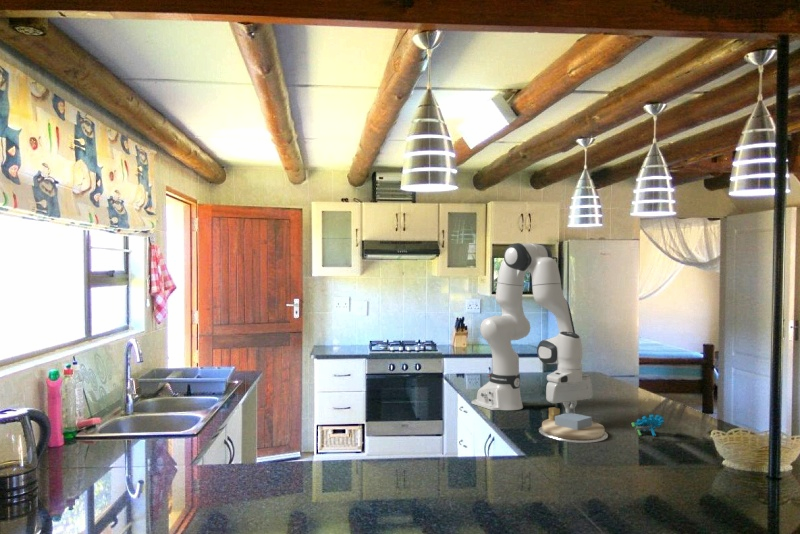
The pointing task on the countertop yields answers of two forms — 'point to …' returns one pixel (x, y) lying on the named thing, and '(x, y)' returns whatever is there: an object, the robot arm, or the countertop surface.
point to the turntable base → (573, 439)
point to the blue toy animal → (648, 424)
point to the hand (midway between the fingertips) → (570, 412)
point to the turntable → (568, 433)
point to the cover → (573, 421)
